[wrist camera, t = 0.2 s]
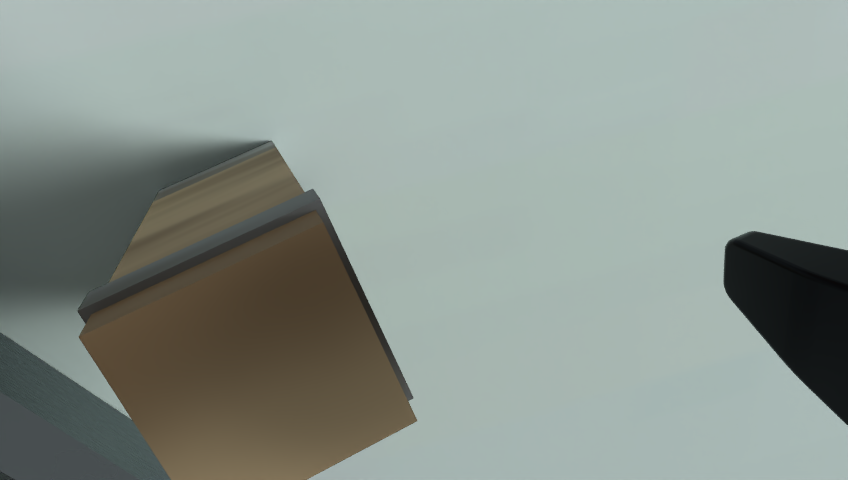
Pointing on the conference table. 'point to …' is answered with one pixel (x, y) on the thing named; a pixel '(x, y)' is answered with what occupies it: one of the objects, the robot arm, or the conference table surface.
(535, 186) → the conference table surface
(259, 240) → the tan square column
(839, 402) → the robot arm
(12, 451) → the panel
